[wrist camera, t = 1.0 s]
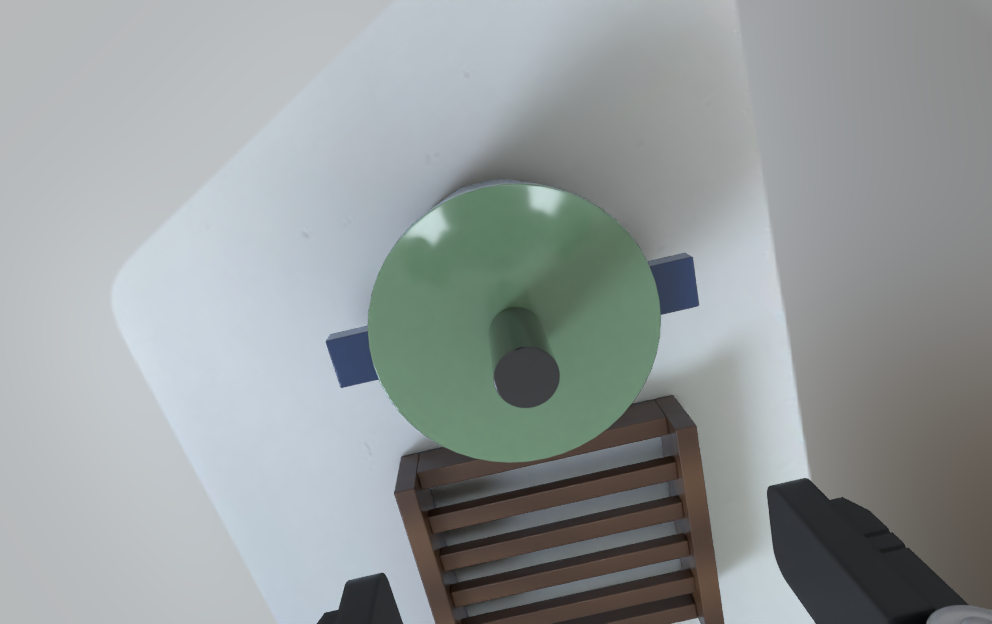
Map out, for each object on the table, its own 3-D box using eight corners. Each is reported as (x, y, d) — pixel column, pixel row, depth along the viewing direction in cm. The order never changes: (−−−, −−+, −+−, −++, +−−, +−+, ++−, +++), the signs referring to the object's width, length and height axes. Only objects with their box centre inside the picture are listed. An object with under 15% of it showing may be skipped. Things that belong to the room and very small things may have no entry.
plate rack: (400, 456, 38) (393, 493, 35) (673, 395, 38) (696, 425, 34) (457, 641, 43) (457, 692, 39) (702, 588, 42) (726, 633, 39)
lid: (335, 219, 26) (297, 246, 20) (629, 150, 26) (678, 157, 20) (413, 475, 30) (400, 562, 24) (671, 417, 30) (722, 490, 24)
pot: (330, 217, 34) (288, 246, 26) (632, 146, 34) (685, 153, 25) (387, 403, 37) (366, 481, 29) (661, 341, 37) (717, 402, 29)
